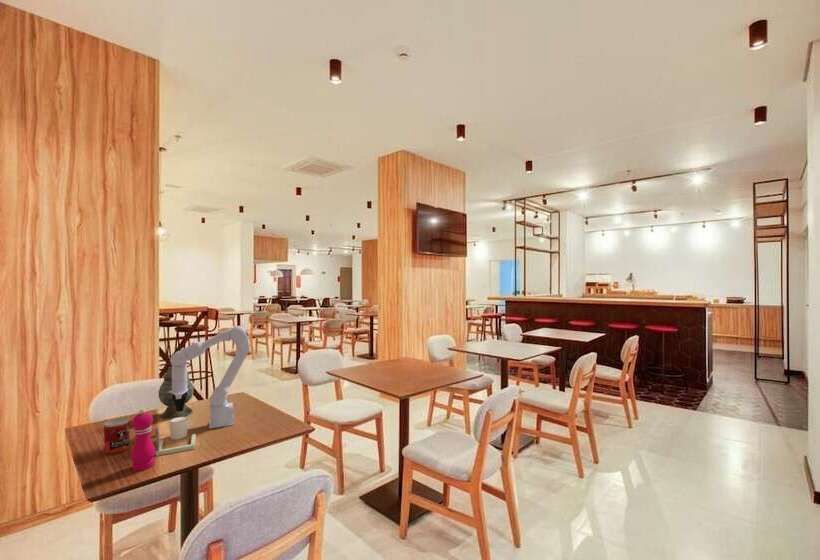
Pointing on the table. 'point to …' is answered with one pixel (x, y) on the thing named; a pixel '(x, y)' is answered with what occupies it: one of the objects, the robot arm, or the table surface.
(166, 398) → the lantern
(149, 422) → the pepper mill
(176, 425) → the beige faceted cylinder
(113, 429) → the canned food
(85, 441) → the table surface
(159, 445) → the pale green angular frame
